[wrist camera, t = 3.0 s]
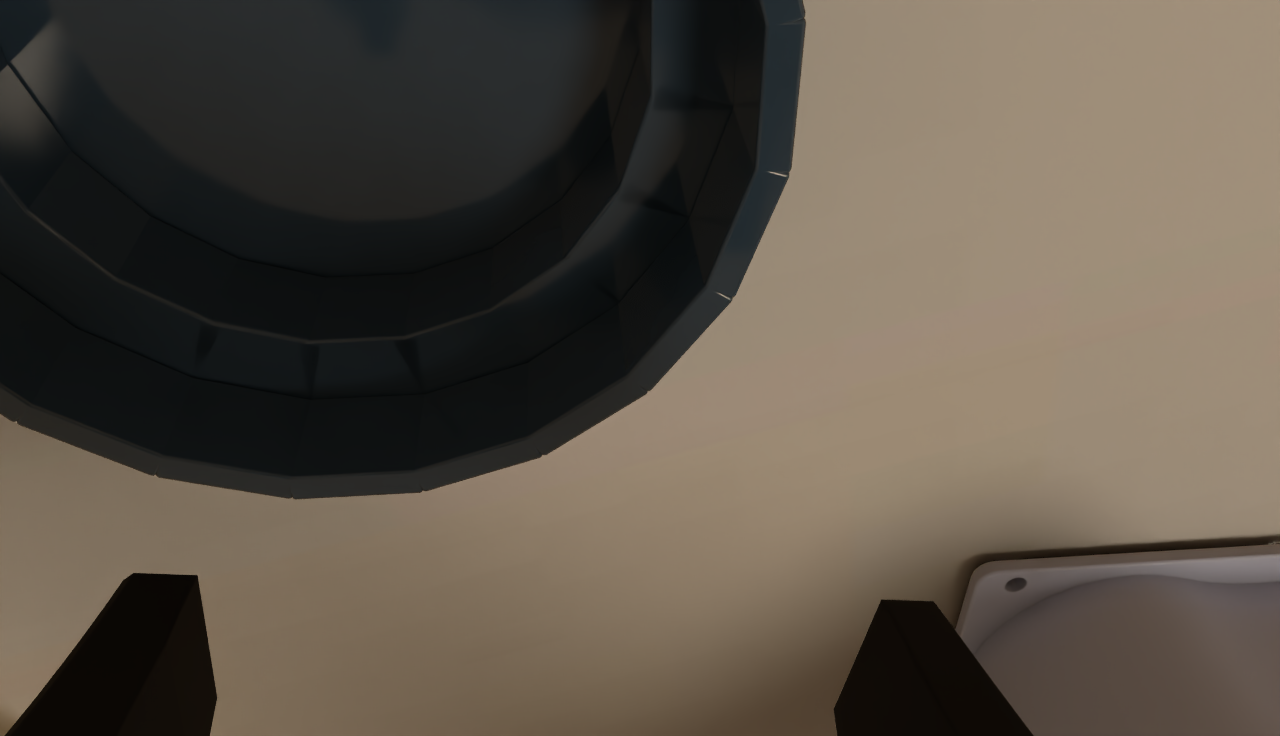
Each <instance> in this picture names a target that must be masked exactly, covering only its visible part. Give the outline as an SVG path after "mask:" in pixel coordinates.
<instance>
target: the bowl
mask: <svg viewBox="0 0 1280 736" xmlns="http://www.w3.org/2000/svg"><path fill="white" fill-rule="evenodd" d="M804 17H805V9H804V4H803V0H0V414H1V415H3V416H4V417H6V418H7V419H9V420H10V421H13V422H16V421H17V424H19V425H20V426H23V427H26V428H28V429H31V430H34V431H36V432H39V433H41V434H44V435H47V436H49V437H52V438H54V439H57V440H60V441H62V442H65V443H68V444H70V445H73V446H75V447H78V448H81V449H83V450H86V451H88V452H91V453H94V454H96V455H99V456H102V457H104V458H107V459H109V460H112V461H115V462H117V463H120V464H122V465H125V466H128V467H130V468H133V469H136V470H138V471H141V472H143V473H146V474H149V475H151V476H154V475H157V477H159V478H164V479H171V480H177V481H183V482H189V483H195V484H202V485H208V486H214V487H220V488H226V489H232V490H239V491H245V492H251V493H257V494H263V495H269V496H276V497H282V498H288V499H289V498H292V497H293V499H311V498H330V497H348V496H367V495H386V494H404V493H420V492H422V491H429V490H432V489H435V488H439V487H442V486H446V485H449V484H452V483H456V482H459V481H463V480H466V479H469V478H473V477H476V476H480V475H483V474H486V473H490V472H493V471H496V470H500V469H503V468H507V467H510V466H513V465H517V464H520V463H524V462H527V461H530V460H534V459H537V458H540V457H541V456H542V455H547V454H548V453H550V452H552V451H553V450H555V449H557V448H558V447H560V446H562V445H563V444H565V443H567V442H568V441H570V440H572V439H573V438H575V437H576V436H578V435H580V434H581V433H583V432H585V431H586V430H588V429H590V428H591V427H593V426H595V425H596V424H598V423H599V422H601V421H603V420H604V419H606V418H608V417H609V416H611V415H613V414H614V413H616V412H618V411H619V410H621V409H623V408H624V407H626V406H627V405H629V404H631V403H632V402H634V401H636V400H637V399H639V398H641V397H642V396H644V395H646V393H647V392H648V391H650V390H652V388H653V387H654V386H655V385H656V384H657V383H658V382H659V381H660V380H661V378H662V377H663V376H664V375H665V374H666V373H667V372H668V371H669V370H670V369H671V367H672V366H673V365H674V364H675V363H676V362H677V361H678V360H679V359H680V358H681V356H682V355H683V354H684V353H685V352H686V351H687V350H688V349H689V348H690V347H691V345H692V344H693V343H694V342H695V341H696V340H697V339H698V338H699V337H700V335H701V334H702V333H703V332H704V331H705V330H706V329H707V328H708V327H709V326H710V324H711V323H712V322H713V321H714V320H715V319H716V318H717V317H718V316H719V315H720V313H721V312H722V311H723V310H724V309H725V308H726V307H727V306H728V305H729V303H730V302H731V301H732V299H733V297H734V296H735V295H736V293H737V291H738V289H739V286H740V284H741V282H742V280H743V278H744V275H745V273H746V271H747V269H748V266H749V264H750V262H751V260H752V258H753V255H754V253H755V251H756V249H757V247H758V244H759V242H760V240H761V238H762V235H763V233H764V231H765V229H766V227H767V224H768V222H769V220H770V218H771V215H772V213H773V211H774V209H775V207H776V204H777V202H778V200H779V198H780V196H781V193H782V191H783V189H784V187H785V184H786V182H787V180H788V178H789V172H790V170H791V167H792V157H793V147H794V137H795V127H796V117H797V107H798V97H799V87H800V77H801V67H802V57H803V47H804V37H805V27H806V21H805V18H804Z"/></svg>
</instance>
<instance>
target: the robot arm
mask: <svg viewBox="0 0 1280 736" xmlns="http://www.w3.org/2000/svg"><path fill="white" fill-rule="evenodd" d="M216 701H217V693H216V687H215V681H214V675H213V668H212V662H211V656H210V650H209V644H208V637H207V631H206V625H205V619H204V612H203V606H202V600H201V594H200V588H199V581H198V575H175V574H146V573H133V574H132V575H130V576H129V577H127V578H126V579H124V580H123V581H122V583H121V584H120V586H119V587H118V588H117V590H116V591H115V593H114V594H113V596H112V597H111V598H110V600H109V601H108V603H107V604H106V605H105V607H104V608H103V610H102V611H101V612H100V614H99V615H98V617H97V618H96V619H95V621H94V622H93V623H92V625H91V626H90V628H89V629H88V630H87V632H86V633H85V634H84V636H83V637H82V638H81V640H80V641H79V642H78V644H77V645H76V646H75V648H74V649H73V650H72V652H71V653H70V654H69V656H68V657H67V658H66V660H65V661H64V662H63V664H62V665H61V666H60V667H59V669H58V670H57V671H56V672H55V674H54V675H53V676H52V678H51V679H50V680H49V681H48V683H47V684H46V685H45V687H44V688H43V689H42V690H41V692H40V693H39V694H38V696H37V697H36V698H35V699H34V701H33V702H32V703H31V704H30V706H29V707H28V708H27V709H26V710H25V712H24V713H23V714H22V715H21V717H20V718H19V719H18V720H17V721H16V723H15V724H14V725H13V726H12V727H11V729H10V730H9V731H8V732H7V734H6V735H5V736H210V732H211V726H212V721H213V716H214V711H215V706H216ZM834 715H835V723H836V730H837V736H1280V544H1271V545H1254V546H1237V547H1221V548H1204V549H1187V550H1170V551H1154V552H1137V553H1120V554H1104V555H1087V556H1070V557H1054V558H1037V559H1020V560H1003V561H992V562H987V563H985V564H982V565H980V566H979V567H978V568H977V569H975V570H974V572H973V574H972V575H971V578H970V582H969V585H968V588H967V592H966V595H965V599H964V602H963V605H962V609H961V612H960V616H959V619H958V622H957V626H956V629H954V628H953V626H952V625H951V624H950V622H949V621H948V620H947V618H946V617H945V616H944V614H943V613H942V612H941V610H940V609H939V608H938V606H937V605H936V604H935V603H934V601H909V600H881V602H880V604H879V606H878V608H877V611H876V613H875V615H874V618H873V620H872V622H871V625H870V627H869V629H868V631H867V634H866V636H865V638H864V641H863V643H862V645H861V648H860V650H859V652H858V654H857V657H856V659H855V661H854V664H853V666H852V668H851V671H850V673H849V675H848V677H847V680H846V682H845V684H844V687H843V689H842V691H841V694H840V696H839V698H838V700H837V703H836V705H835V707H834Z"/></svg>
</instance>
